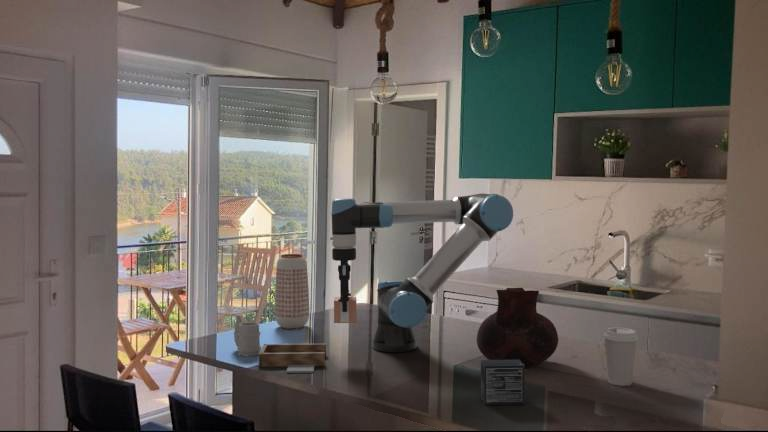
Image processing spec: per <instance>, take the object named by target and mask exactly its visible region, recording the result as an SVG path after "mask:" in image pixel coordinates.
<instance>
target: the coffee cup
mask: <svg viewBox="0 0 768 432" xmlns="http://www.w3.org/2000/svg"><path fill="white" fill-rule="evenodd" d="M602 337H603V339H604V346H605V359H606V360H605V361H606V376H607V382H608V384H609V385H610V384H611V385H613V386H621V387H626V386H631V385H632V383H633V375H634V366H635V357H636V351H637V342H638V340H639V335H638V334H637V332H636V330H635V329H631V328H626V327H608V328H606V329H605V332H604V333H603V335H602Z"/></svg>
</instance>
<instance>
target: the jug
mask: <svg viewBox="0 0 768 432" xmlns="http://www.w3.org/2000/svg"><path fill="white" fill-rule="evenodd" d="M495 291H496V294H497V301H498V302H497V307H496V311H495V312H493V313H492V314H490V315H489V316H487V317H486V318H485V319H484V320H483V321H482V322H481V324H480V325H479V328H478V329H477V333H476V334H477V335H476V345H477V347H478V350H479V352H480V353H481V354H482V355H483V357H485V359H486V360H520V361H521V362H522V363H523V364H524V369H529V368H533V367H536V366H539V365H541V364H542V363H544V362H545V361H547V360H548V359H549V358H550V357H552V355H554V353H555V352H556V350H557V347H558V345H559V336H558V335H559V334H558V331H557V328H556V326H555V324H554V323H553V321H551V320H550V319H549V318H548V317H547V316H545V315H543V314H541V313H538V312H537V304H538V303H537V302H538V301H537V300H538V297H539V294H540V291H539V289H538V290H533V289H532V290H530V289H529V290H525V288H524V287H507V288H506V289H497V290H495Z"/></svg>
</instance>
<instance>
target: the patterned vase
mask: <svg viewBox="0 0 768 432" xmlns="http://www.w3.org/2000/svg"><path fill="white" fill-rule="evenodd" d="M275 269H276V271H275V284H274V285H275V288H274V290H275V291H274V318H275V321H276V323H277V325H278V326H279V327H280V328H281V329H282V330H300V329H303V328H304V327H305V325H306V324H307V322H308V321H309V319H310V296H309V295H310V293H309V291H310V289H309V278H308V277H309V276H308V275H309V273H308V265H307V260H306V258H305V256H303V254H300V253H285V254H281V255H280V257H278V259H277V263H276V268H275Z"/></svg>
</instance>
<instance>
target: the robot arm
mask: <svg viewBox="0 0 768 432" xmlns="http://www.w3.org/2000/svg"><path fill="white" fill-rule="evenodd" d="M356 203H357V202H356V200H355V199H354V198H334V199H333V200H332V202H331V212H330V214H331V236H330V237H329V240H330V241H331V243H332V244H331V246H332V247H333V248H332V249H331V254H332V255H331V258H332V260H333V261H336V262H338V261H339V262H340V264H338V266H337V272H338V279H339V281H340V285H339V286H340V290H339V293H340V296H339V297H341V298H340V299H338V302H340V319H341V322H349V297H352V293H351V292H350V289H349V288H350V287H349V282H350V279H351V265H350V264H349V261H350V262H351V261H355V260H356V259H357V249H356V246H357V231H356V230H357V229H371V228H372V229H374V228H375V229H384V228H390V227H392V226H393V225H397V224H398V225H401V224H404V225H405V224H425V223H426V224H427V223H428V224H429V223H451V222H453V223H454V224H455V225H460V226H459V228H457V229H456V231H454V232H453V234H452V235H451V236H450V237H449V238H448V239H447V240H446V242H445V243H444V244H442V246H441V247H440V248H439V249H438V250H437V251H436V252H435V254H434V255H433V256H432V257H431V258H430V259H429V260H428V261H427V262H426V263H425V264H424V266H423V267H422V268H420V270H419V271H418V272H417V273H416V274H415V275H414V276H412V277H406V278H405V279H403V280H382V281H379V282H378V284H377V290H376V292H377V327H376V330H375V332H374V335H373V338H372V348H373V350H377V351H378V352H379V351H380V352H386V353H404V352H411V351H413V350H415V349H417V339H416V335H415V332H414V329H413V328H414V327H417V326H418V325H420V324H421V323H422V322H423V321H424V320H425V318H426V316H427V310H428V309H429V308H430V306H431V305H433V303H434V295H435V294H436V293H437V292H438V290H440V288H441V287H442V286H443V285H444V284H445V283H446V282H447V281H448V279H450V278H451V276H452V275H453V274H454V273H455V272H456V271H457V270H458V269H459V268H460V266H461V265H462V264H463V263H465V261H466V260H467V259H468V258H469V256H470V255H471V254H472V253H473V252H474V251H475V250H476V249H477V248H478V247H479V245H481V244H482V242H489V241H490V240H492V238H493V237H494V236H495V235H496V234H497V233H498V232H501V231H504V230H506V229H507V228H508V227H509V226H510V225H511V223H512V221H513V218H514V208H513V206H512V203H511V202H510V201H509V199H508V198H506V197H505V196H503V195H500V194H497V193H475V194H471V195H462V196H454V197H453V198H452V199H442V200H441V199H439V200H438V199H435V200H433V199H432V200H411V201H410V200H409V201H406V200H405V201H403V200H402V201H382V202H369V201H363V202H361V203H359V204H356Z"/></svg>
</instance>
